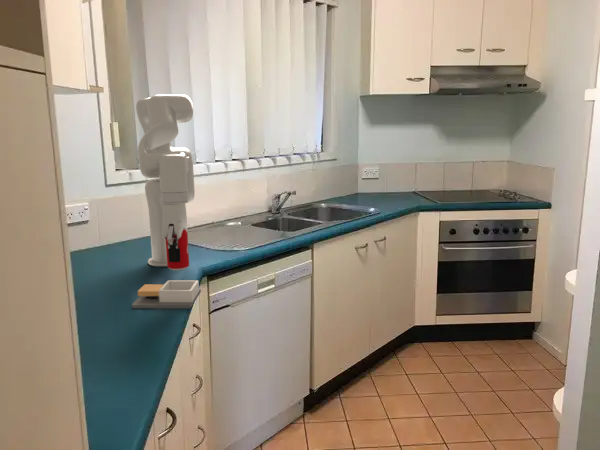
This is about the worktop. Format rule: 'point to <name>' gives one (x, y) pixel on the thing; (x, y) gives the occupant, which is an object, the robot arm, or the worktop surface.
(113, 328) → the worktop surface
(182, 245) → the beverage can
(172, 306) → the grey tray with holder
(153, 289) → the tan flat square block
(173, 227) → the robot arm
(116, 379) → the worktop surface
